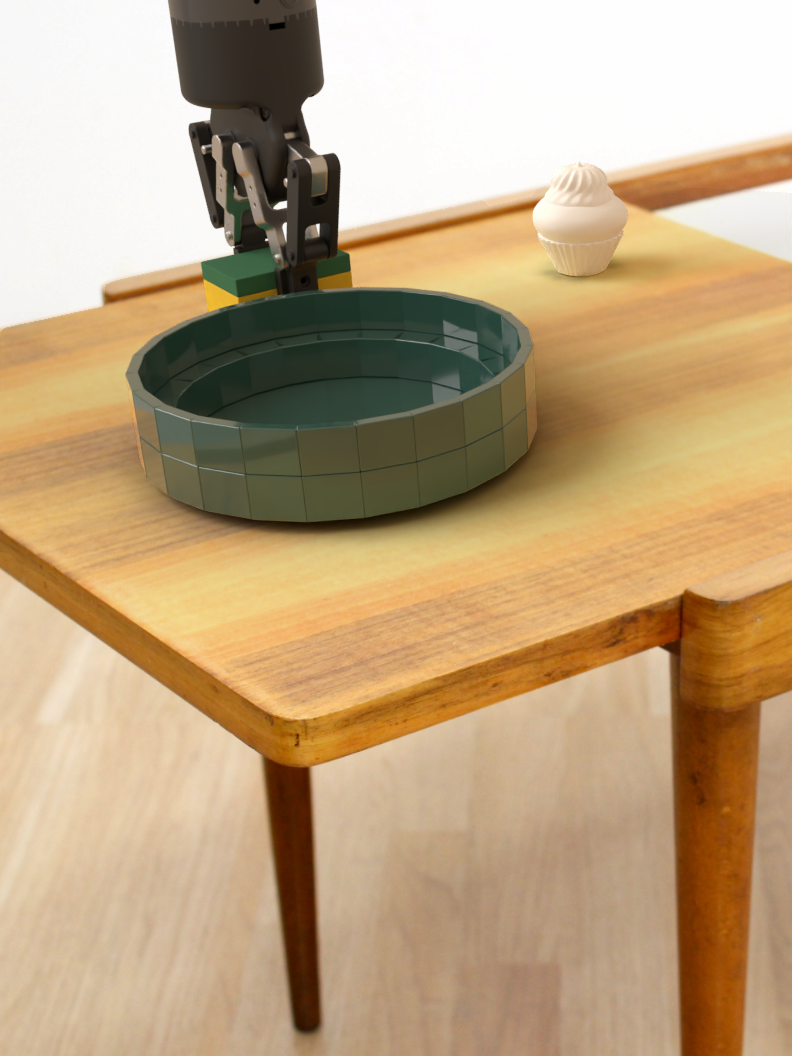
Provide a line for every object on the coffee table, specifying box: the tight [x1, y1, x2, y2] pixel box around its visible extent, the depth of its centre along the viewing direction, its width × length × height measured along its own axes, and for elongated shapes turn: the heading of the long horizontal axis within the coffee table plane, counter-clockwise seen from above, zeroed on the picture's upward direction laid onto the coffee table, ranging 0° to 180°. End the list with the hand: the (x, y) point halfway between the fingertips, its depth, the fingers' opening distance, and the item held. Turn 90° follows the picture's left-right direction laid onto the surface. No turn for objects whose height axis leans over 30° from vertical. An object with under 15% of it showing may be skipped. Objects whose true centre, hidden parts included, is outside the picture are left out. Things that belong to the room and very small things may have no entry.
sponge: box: [200, 247, 354, 313], centre depth 87 cm, size 7×4×4 cm, turn 125°
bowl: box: [125, 286, 538, 523], centre depth 75 cm, size 19×19×5 cm
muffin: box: [532, 160, 629, 277], centre depth 99 cm, size 6×6×7 cm
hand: (281, 317), depth 88 cm, fingers closed on sponge, 4 cm apart
